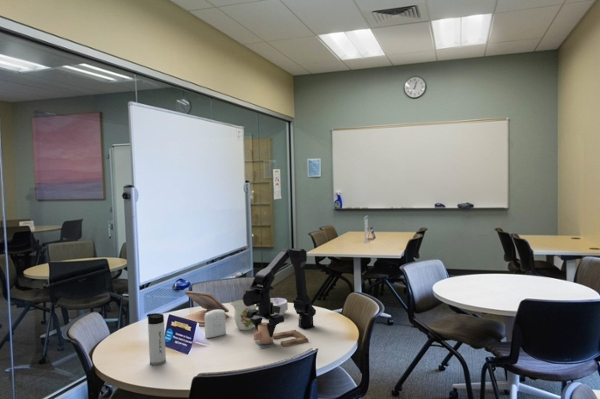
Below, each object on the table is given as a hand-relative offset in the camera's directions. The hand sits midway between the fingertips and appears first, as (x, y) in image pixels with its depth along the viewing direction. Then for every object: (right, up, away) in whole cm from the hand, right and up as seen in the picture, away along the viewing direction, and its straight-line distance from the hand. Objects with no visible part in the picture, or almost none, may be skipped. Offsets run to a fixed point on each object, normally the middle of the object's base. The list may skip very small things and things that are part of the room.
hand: (265, 335), depth 193 cm
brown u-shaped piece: (+10, -3, +4) cm, 12 cm away
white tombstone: (-25, -5, +13) cm, 29 cm away
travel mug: (-43, -6, -16) cm, 46 cm away
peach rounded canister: (-1, -3, -1) cm, 3 cm away
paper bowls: (+1, -3, +42) cm, 42 cm away
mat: (0, -4, 0) cm, 4 cm away
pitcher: (-11, -4, +23) cm, 26 cm away
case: (-37, -4, +41) cm, 55 cm away
